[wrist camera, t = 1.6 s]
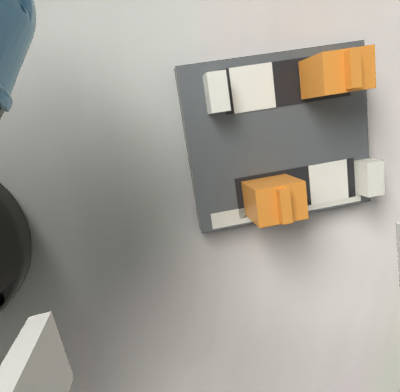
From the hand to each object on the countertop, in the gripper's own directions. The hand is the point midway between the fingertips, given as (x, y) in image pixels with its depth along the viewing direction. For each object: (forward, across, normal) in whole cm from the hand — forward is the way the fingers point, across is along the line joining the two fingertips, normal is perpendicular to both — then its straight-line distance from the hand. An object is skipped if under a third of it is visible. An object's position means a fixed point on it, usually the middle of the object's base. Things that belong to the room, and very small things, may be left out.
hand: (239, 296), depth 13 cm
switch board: (+18, +9, +3) cm, 21 cm away
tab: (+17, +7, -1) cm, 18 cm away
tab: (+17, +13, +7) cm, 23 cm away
